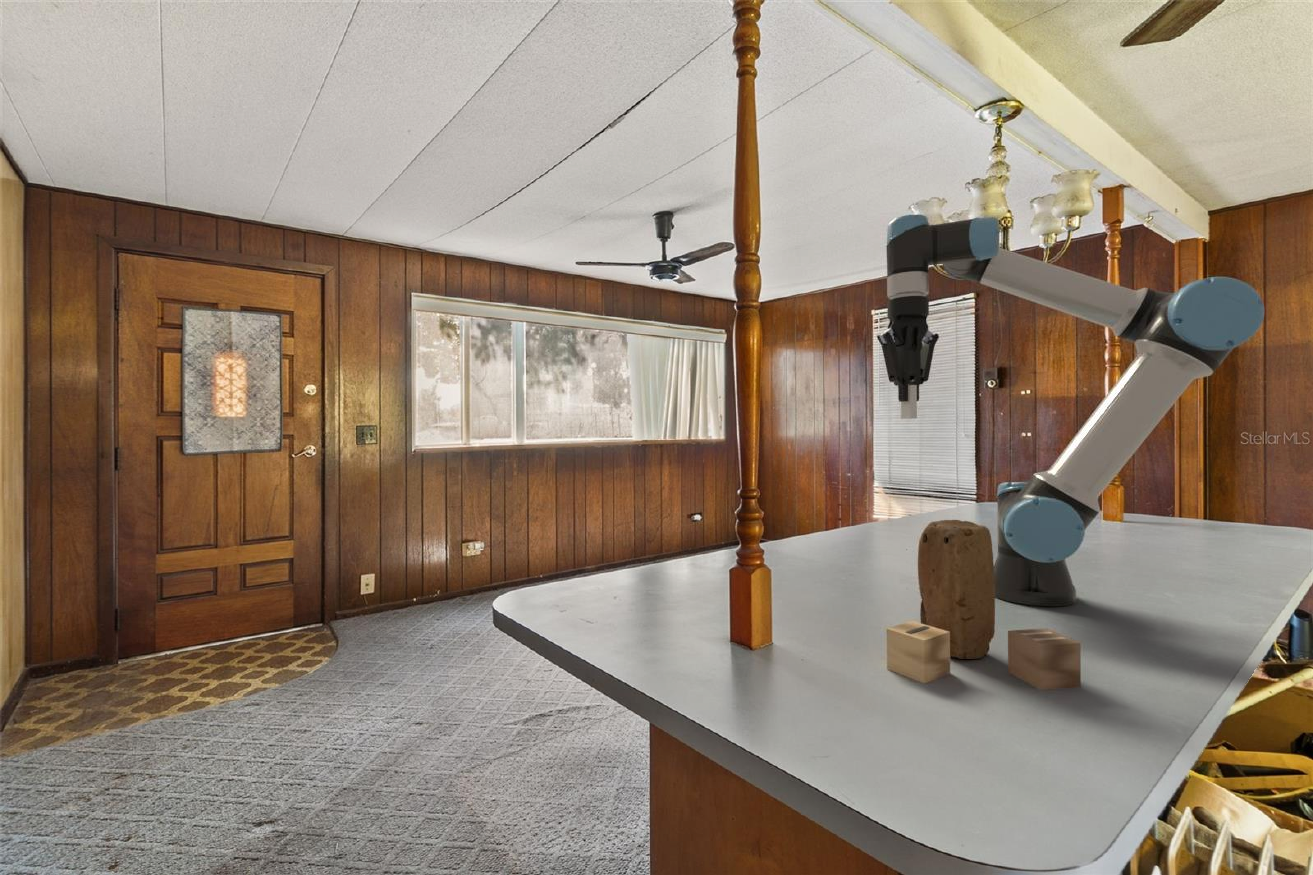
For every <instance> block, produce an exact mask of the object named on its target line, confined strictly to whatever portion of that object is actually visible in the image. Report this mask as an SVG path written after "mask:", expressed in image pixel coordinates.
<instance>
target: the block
mask: <svg viewBox="0 0 1313 875" xmlns="http://www.w3.org/2000/svg"><path fill="white" fill-rule="evenodd" d="M918 541H919V542H918V549H917V577H918V578H917V579H918V586H919V587H918V589H919V594H920V598H921V602H920V608H919V611H920V614H919V615H920V616H919V617H920V618H919V619H920V623H921V624H925V625H928V626H931V627H935V628H938V629H942V630H945V631H949V632H950V658H951V657H952V658H957V659H959V660H962V659H963V660H964V659H965V660H966V659H967V660H976V659H982V658H983V657H984V655H985V654H988V652H989V651H990V643H991V642H992V640H993V639H994V637H995V632H996V631H995V630H996V629H995V627H996V626H995V624H996V618H995V617H996V597H995V592H994V565H995V563H994V552H993V541H992V536H991V532H990V529H988V527H986V526H985V525H979V524H977V523H975V522H972V521H969V520H960V519H943V520H935V521H931V522H929V523H928V525H927V526H926V527H925V528H924V530H923V531H922V533H921V535H920V537H919V540H918Z"/></svg>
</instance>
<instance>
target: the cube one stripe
mask: <svg viewBox="0 0 1313 875" xmlns="http://www.w3.org/2000/svg"><path fill="white" fill-rule="evenodd" d="M886 670H887V671H891V672H894V673H897V674H899V675H901V676H904V677H907V678H908V679H911V680H914V681H917V682H920V683H922V684H926V683H927V684H928V682H932V681H934V680H936V679H939V678H941V677H944V676H947V675H949V674H951V656H950V632H949V631H945V630H942V629H938V628H935V627H931V626H928V625H925V624H921V622H918V621H914V620H911V621H907V622H904V623H901V624H897V625H894V626H891V627H887V628H886Z"/></svg>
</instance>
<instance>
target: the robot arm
mask: <svg viewBox="0 0 1313 875" xmlns="http://www.w3.org/2000/svg"><path fill="white" fill-rule="evenodd" d="M886 230H887V231H886V243H885V246H886V247H885V248H886V275H887V276H886V280H887V281H886V282H887V283H886V289H887V290H886V291H887V296H886V297H887V298H888V299H889V300H888V302H887V305H886V306H887V309H886V311H887V312H886V313H887V318H888V320H889V321H888V324H887V329H886V330H884V331H883V332H881V333H878V334H877V335H876V338H877V340H878V341H879V345H880V346H881V349H882V354H883V359H884V364H885V368H886V372H887V378H888V381H889V382H890V383H893V385H894V386H895V387H897V388H898V389H897V391H898V393H897V394H898V396H897V398H898V401H899V402H900V416H901V417H900V419H903V420H904V419H905V420H906V419H909V420H911V419H918V402H919V400H920V386H921V385H923V384H924V383H925V382H928V381H929V377H930V371H931V366H932V361H933V355H934V350H935V346H936V344H937V342H938V341H939V339H940V336H939V335H940V334H938V333H933V332H932V331H930V330H929V325H928V321H927V318H928V317H929V315H930V305H929V304H930V302H929V301H930V300H929V298H928V297H927V296H928V295H929V294H930V292H929V291H930V289H929V288H930V287H929V266H937V265H942V267H943V269H944V271H945V273H946V274H947V275H948V276H949V277H950V278H952V279H954V280H957V281H958V280H959V281H961V280H963V281H965V280H968V281H972V282H974V283H978V284H981V285H984V286H986V287H990V288H993V289H995V290H999V291H1001V292H1004V293H1007V294H1009V295H1013V296H1016V297H1018V298H1021V299H1024V300H1026V301H1027V300H1028V301H1030V302H1033V303H1036V304H1039V305H1041V306H1045V307H1048V308H1049V309H1053V310H1056V311H1059V312H1062V313H1064V314H1068V315H1070V316H1074V317H1076V318H1078V319H1081V320H1085V321H1087V322H1089V323H1090V322H1091V323H1094V324H1096V325H1100V326H1102V327H1105V328H1108V329H1111V330H1112V333H1113V335H1114V337H1116V338H1119V339H1122V340H1125V341H1128V342H1130V343H1134V345H1135V349H1136V351H1137V354H1136V357H1135V358H1134V359H1133V360H1132V361H1131V363H1130V364H1129V366H1128V367H1127V368H1126V370H1125V371H1124V372H1123V373H1122V375H1121V376H1120V378H1118V380H1117V381H1116V382H1115V384H1114V385H1113V386H1112V388H1111V389H1110V390H1109V391H1108V393H1107V394H1106V395H1105V397H1104V398H1103V399H1102V401H1101V402H1100V403H1099V405H1098V406H1097V407H1096V408H1095V409H1094V411H1093V412H1092V414H1090V416H1089V418H1087V420H1086V421H1085V423H1084V424H1083V425H1082V426H1081V428H1080V429H1079V430H1078V432H1077V433H1076V434H1075V436H1074V437H1073V438H1072V439H1071V441H1070V442H1069V443H1068V445H1067V446H1066V447H1065V449H1064V450H1063V451H1062V452H1061V454H1060V455H1058V457H1057V459H1056V460H1055V461H1054V463H1053V464H1052V465H1051V466H1050V468H1049V469H1048V470H1046V471H1045V470H1044V471H1040V472H1034V473H1033V474H1032V476H1031V477H1030V479H1029V480H1028V481H1013V482H1011V481H1009V482H1008V481H1006V482H1002V483H999V485H998V486H997V494H996V499H995V500H997V557H996V560H995V563H994V592H995V598H998V599H1000V600H1004V601H1007V602H1010V603H1015V604H1021V605H1027V606H1037V607H1065V606H1071V605H1073V604H1075V603H1076V602H1077V589H1076V587H1075V585H1074V583H1073V579H1072V577H1071V574H1070V571H1069V568H1068V565H1067V562H1066V559H1067V558H1069V557H1072V556H1073V555H1074V554H1075V553H1076V552H1077V551H1078V550H1079V549H1080V548H1081V545H1082V544H1083V541H1084V537H1085V534H1086V533H1085V532H1086V529H1087V528H1088V527H1089V526H1090V524H1092V522H1093V521H1094V520H1095V518H1096V517H1097V516H1098V515H1099V513H1101V508H1100V505H1099V497H1101V496H1100V495H1101V494H1102V493H1104V491H1105V489H1107V487H1108V486H1109V485H1110V483H1111V482H1112V481H1113V480H1114V479H1115V477H1116V476H1117V475H1118V474H1119V472H1120V471H1121V470H1122V468H1123V467H1125V465H1126V464H1127V462H1128V461H1129V460H1130V459H1131V457H1132V456H1134V454H1135V453H1136V452H1137V450H1138V449H1139V448H1140V446H1141V445H1143V443H1144V441H1145V440H1146V439H1147V438H1148V437H1149V435H1150V434H1151V433H1152V432H1153V430H1154V429H1155V428H1156V426H1157V425H1159V423H1160V422H1161V420H1162V419H1163V418H1164V417H1165V416H1166V414H1167V413H1168V412H1169V411H1170V409H1172V407H1173V406H1174V404H1175V403H1176V402H1177V401H1178V399H1179V398H1180V397H1181V395H1182V394H1184V392H1185V390H1187V389H1188V387H1189V386H1190V385H1191V384H1192V383H1193V381H1194V380H1196V379H1200V378H1206V377H1209V376H1212V375H1213V374H1214V373H1215V371H1216V370H1217V368H1219V366H1220V365H1221V364H1222V363H1223V362H1224V360H1225V359H1226V358H1227V357H1228V356H1229V354H1230V353H1231V352H1232V351H1233V350H1234V348H1237V347H1240V346H1241V345H1242V344H1245V343H1246V342H1247V341H1248V340H1250V339H1251V338H1252V337H1253V336H1254V335H1255V334H1256V333H1257V332H1258V331H1259V329H1260V328H1261V326H1262V324H1263V321H1264V318H1265V305H1264V303H1263V300H1262V297H1261V296H1260V294H1259V293H1258V291H1257V290H1256V289H1255V288H1254V287H1252V286H1251V285H1250V284H1248V283H1246V282H1244V281H1242V280H1240V279H1236V278H1234V277H1233V278H1232V277H1229V276H1212V277H1206V278H1202V279H1197V280H1194V281H1191V282H1189V283H1187V284H1185V285H1184V286H1182V287H1180V289H1178V290H1177V291H1176V292H1173V293H1172V292H1165V291H1163V292H1162V291H1159V290H1154V289H1152V288H1149V287H1148V288H1147V287H1142V288H1140V289H1137V290H1134V289H1132V288H1129V287H1124V286H1121V285H1118V284H1115V283H1112V282H1108V281H1106V280H1102V279H1099V278H1095V277H1093V276H1089V275H1086V274H1083V273H1080V272H1077V271H1074V270H1071V269H1067V268H1065V267H1062V266H1058V265H1055V264H1052V263H1049V262H1045V261H1042V260H1039V259H1037V258H1033V257H1031V256H1026V255H1024V254H1020V253H1016V252H1014V251H1011V250H1008V249H1004V248H1001V247H1000V224H999V219H998V218H997V217H995V216H987V217H974V218H970V219H964V220H957V221H951V222H943V223H939V224H938V223H937V224H930V223H929V218H928V217H927V216H926V215H923V214H905V215H901V216H899V217H895V218H893V219H892V220H891V221H890V222H889V223H888V225H887V229H886Z"/></svg>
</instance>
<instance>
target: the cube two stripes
mask: <svg viewBox="0 0 1313 875" xmlns="http://www.w3.org/2000/svg"><path fill="white" fill-rule="evenodd" d="M1081 650H1082V649H1081V642H1079V641H1076V640H1074V639H1072V638H1070V637H1068V636H1066V635H1063V634H1060V633H1058V632H1056V631H1053V630H1052V629H1049V628H1047V627H1046V628H1043V627H1042V628H1032V629H1031V628H1030V629H1029V628H1028V629H1014V630H1007V668H1008V669H1007V670H1008V671H1007V672H1008V674H1011V675H1013V676H1014V677H1016V678H1018V679H1019V680H1021V681H1023V682H1025V683H1026V684H1028V685H1030V686H1032V687H1033V688H1035V689H1037V690H1039V691H1045V690H1058V689H1059V690H1060V689H1073V688H1081V686H1082V683H1081V680H1082V676H1081V675H1082V674H1081V668H1082V667H1081V666H1082V664H1081V661H1082V660H1081V654H1082V653H1081Z"/></svg>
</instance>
